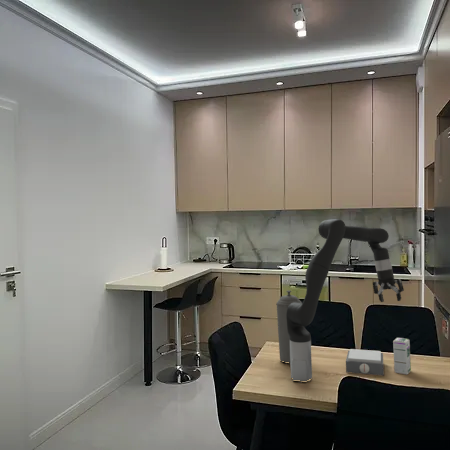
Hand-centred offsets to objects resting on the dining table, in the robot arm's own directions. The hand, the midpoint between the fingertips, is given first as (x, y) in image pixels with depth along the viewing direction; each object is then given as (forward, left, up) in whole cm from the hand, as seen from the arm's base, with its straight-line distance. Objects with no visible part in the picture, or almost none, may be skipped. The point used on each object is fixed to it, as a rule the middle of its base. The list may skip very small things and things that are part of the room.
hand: (390, 301), depth 208 cm
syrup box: (-19, -4, -28) cm, 34 cm away
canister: (-17, +47, -28) cm, 58 cm away
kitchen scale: (-18, +12, -28) cm, 35 cm away
